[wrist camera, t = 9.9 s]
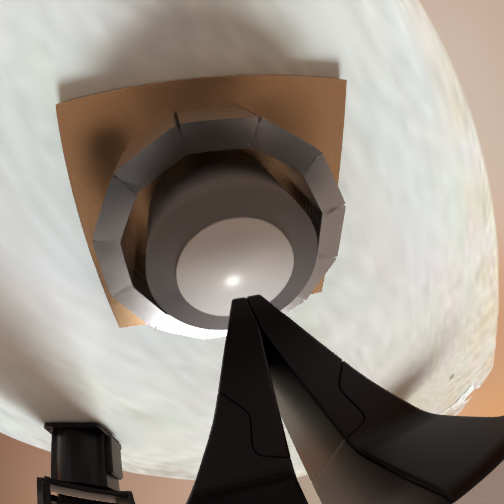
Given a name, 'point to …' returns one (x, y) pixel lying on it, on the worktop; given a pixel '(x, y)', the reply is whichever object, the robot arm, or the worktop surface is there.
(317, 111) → the ring mount
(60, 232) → the worktop surface
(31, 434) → the worktop surface
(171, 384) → the worktop surface
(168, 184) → the gray tapered cylinder
